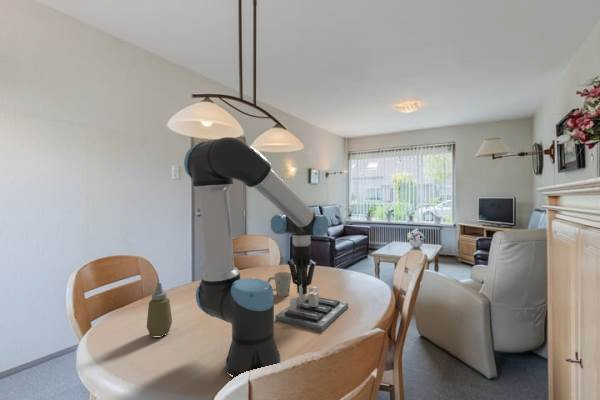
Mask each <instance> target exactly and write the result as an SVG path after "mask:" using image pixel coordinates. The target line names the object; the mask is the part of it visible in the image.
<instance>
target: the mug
mask: <svg viewBox="0 0 600 400" xmlns="http://www.w3.org/2000/svg"><path fill="white" fill-rule="evenodd" d="M272 280H274V283H275V288H272V289H273V292H274V291H276V296H277V297H282V298H283V297H289V295H290V291H291V290H290V289H291V282H292V276H291V272H287V271H280V272H276V273H274V275H273V276H270V277H269V278H268V279H267V281H266V282H268V283H269V284H270V282H271V281H272Z"/></svg>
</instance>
